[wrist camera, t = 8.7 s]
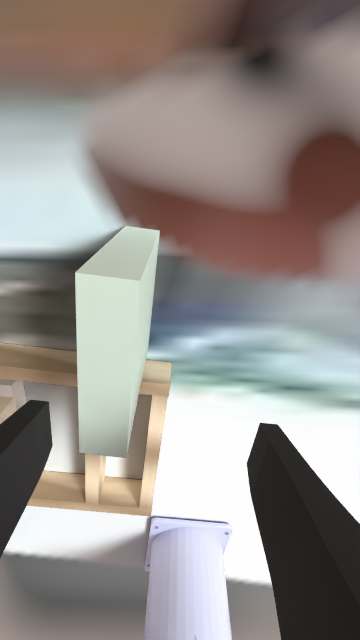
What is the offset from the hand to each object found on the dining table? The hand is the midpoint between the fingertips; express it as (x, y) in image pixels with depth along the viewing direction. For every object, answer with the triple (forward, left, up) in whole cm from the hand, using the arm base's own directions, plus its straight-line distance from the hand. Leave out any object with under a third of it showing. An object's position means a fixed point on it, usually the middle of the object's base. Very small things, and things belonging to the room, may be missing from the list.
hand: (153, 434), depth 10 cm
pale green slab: (+1, +2, -10) cm, 11 cm away
